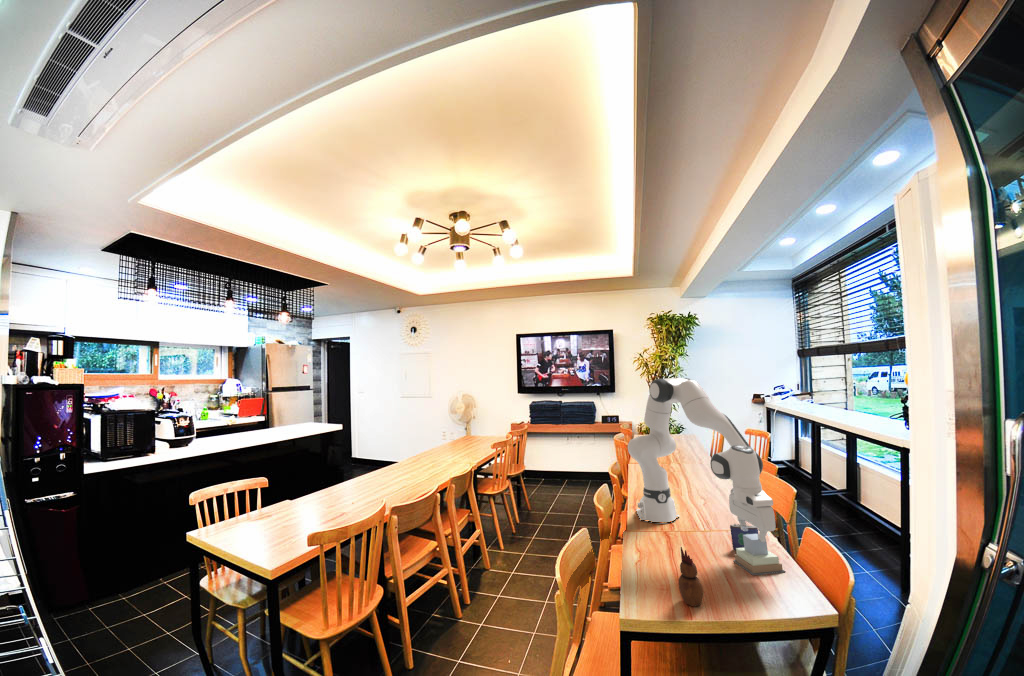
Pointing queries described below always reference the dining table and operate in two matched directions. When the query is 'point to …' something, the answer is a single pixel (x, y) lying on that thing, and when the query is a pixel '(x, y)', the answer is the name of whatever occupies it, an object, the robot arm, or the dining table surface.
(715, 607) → the dining table surface
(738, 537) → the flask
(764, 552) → the cube
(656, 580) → the dining table surface
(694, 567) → the wooden figurine
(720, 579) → the dining table surface
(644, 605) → the dining table surface
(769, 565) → the plinth
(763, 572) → the slate mat
